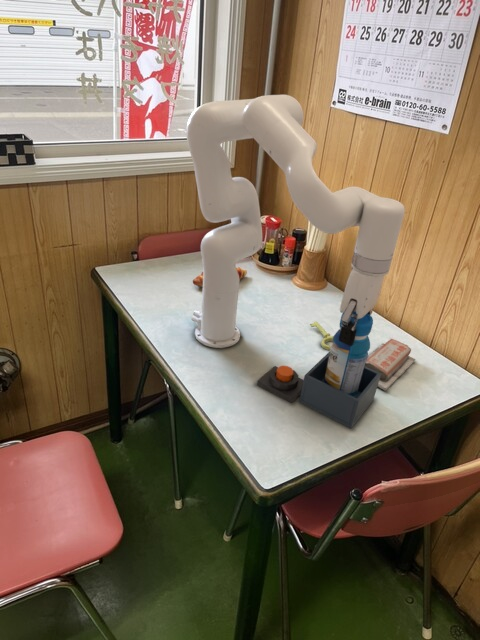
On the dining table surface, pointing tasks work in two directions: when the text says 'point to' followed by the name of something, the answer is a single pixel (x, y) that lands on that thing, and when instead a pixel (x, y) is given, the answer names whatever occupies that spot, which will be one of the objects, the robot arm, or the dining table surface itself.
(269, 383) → the box
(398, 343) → the packaged product
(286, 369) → the call button
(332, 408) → the blue box
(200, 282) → the croissant
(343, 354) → the beverage bottle
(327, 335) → the key
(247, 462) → the dining table surface
